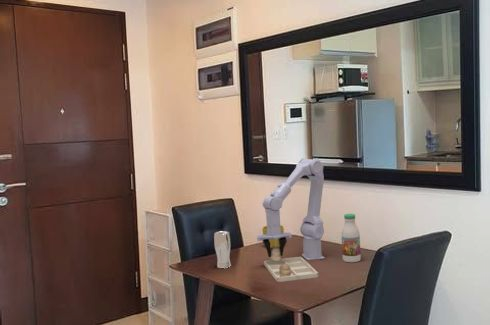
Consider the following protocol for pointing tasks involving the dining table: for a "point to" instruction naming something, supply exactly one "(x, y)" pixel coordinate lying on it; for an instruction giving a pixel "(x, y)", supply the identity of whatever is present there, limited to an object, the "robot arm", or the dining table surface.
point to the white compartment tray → (297, 266)
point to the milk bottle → (350, 240)
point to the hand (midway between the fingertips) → (275, 255)
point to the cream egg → (275, 253)
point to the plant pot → (274, 241)
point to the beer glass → (222, 248)
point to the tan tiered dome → (284, 270)
